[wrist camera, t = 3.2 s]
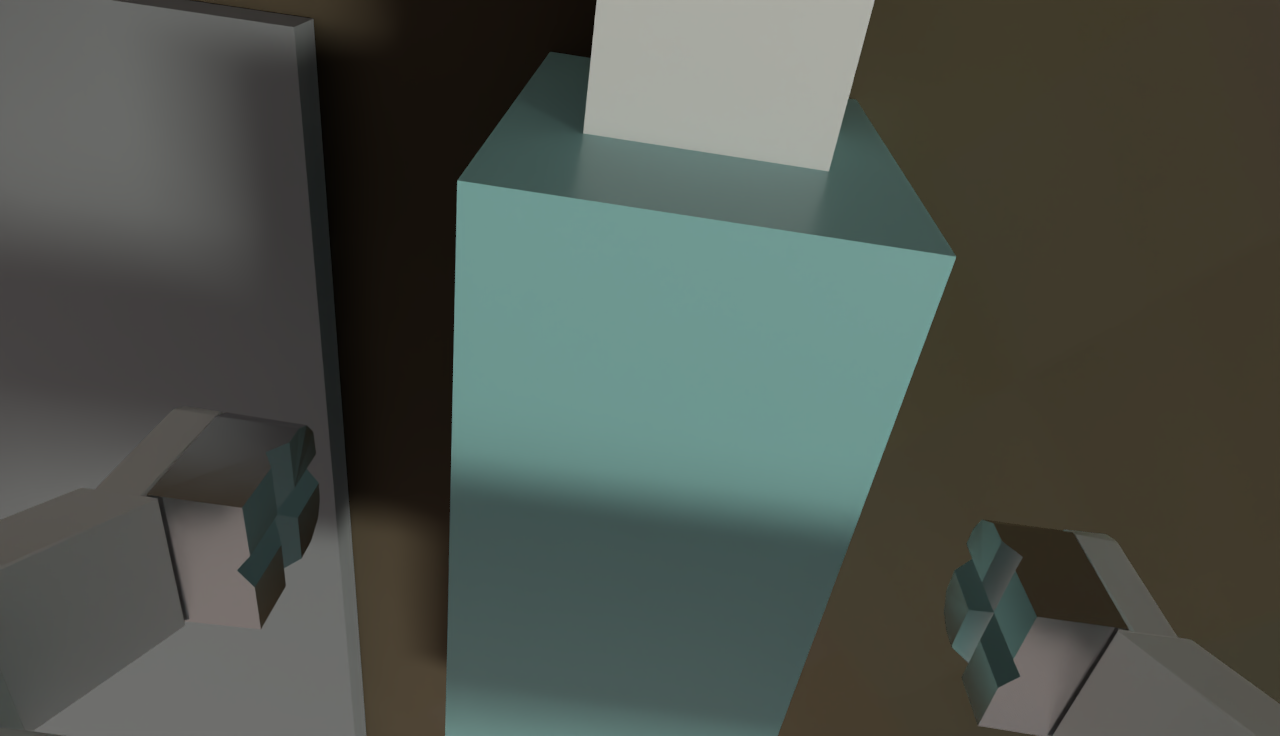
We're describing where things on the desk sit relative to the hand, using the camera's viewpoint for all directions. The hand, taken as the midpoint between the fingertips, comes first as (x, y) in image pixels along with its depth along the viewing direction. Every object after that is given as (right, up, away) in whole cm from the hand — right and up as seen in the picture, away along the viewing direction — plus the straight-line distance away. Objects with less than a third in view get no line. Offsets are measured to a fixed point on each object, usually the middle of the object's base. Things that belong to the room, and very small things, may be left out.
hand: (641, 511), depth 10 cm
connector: (0, +2, +3) cm, 4 cm away
